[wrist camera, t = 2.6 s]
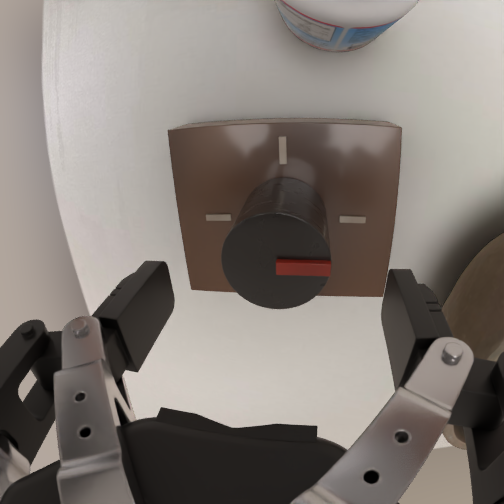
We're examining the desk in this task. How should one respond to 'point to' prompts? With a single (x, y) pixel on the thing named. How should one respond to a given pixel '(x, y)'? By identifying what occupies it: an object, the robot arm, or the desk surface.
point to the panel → (297, 167)
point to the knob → (279, 245)
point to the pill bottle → (341, 20)
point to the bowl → (478, 313)
